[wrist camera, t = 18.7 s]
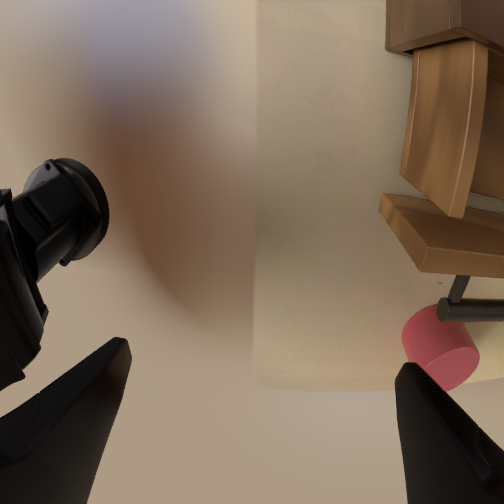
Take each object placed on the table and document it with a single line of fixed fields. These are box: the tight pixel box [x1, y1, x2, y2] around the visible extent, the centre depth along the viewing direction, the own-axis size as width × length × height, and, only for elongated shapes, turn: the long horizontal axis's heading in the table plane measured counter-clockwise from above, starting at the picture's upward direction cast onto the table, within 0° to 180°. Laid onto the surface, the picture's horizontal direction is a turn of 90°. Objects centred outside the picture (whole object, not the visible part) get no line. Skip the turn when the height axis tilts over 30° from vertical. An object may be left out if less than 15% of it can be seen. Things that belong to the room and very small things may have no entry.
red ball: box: [402, 304, 480, 392], centre depth 21 cm, size 5×5×5 cm
